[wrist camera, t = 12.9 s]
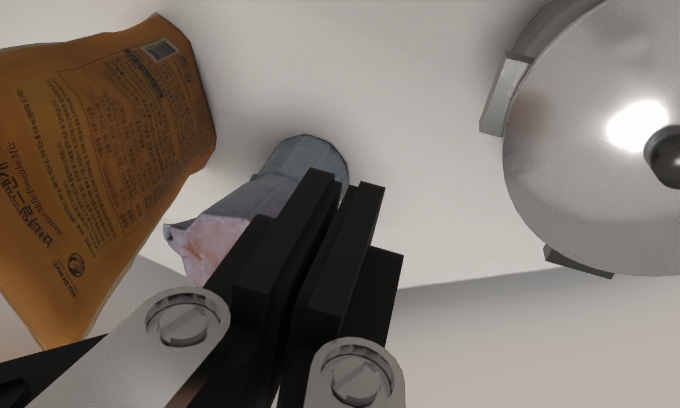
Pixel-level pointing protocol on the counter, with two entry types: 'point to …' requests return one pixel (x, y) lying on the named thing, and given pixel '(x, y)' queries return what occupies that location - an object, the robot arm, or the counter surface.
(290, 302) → the robot arm
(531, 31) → the cooker pot
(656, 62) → the lid
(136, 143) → the pancake mix bag
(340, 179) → the moka pot
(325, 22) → the counter surface
